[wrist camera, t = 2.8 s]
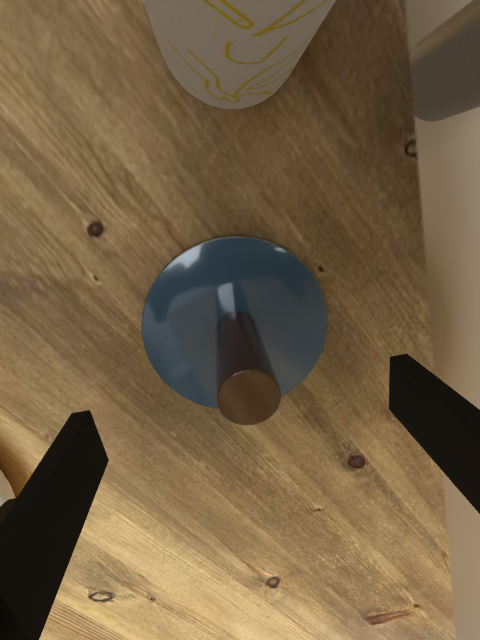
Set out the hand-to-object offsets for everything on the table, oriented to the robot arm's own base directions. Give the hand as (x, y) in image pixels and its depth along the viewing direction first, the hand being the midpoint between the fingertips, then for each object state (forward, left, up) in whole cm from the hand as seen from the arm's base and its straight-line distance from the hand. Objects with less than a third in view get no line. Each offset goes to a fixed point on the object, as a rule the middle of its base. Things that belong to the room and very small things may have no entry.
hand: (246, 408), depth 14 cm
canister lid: (0, 0, -9) cm, 9 cm away
